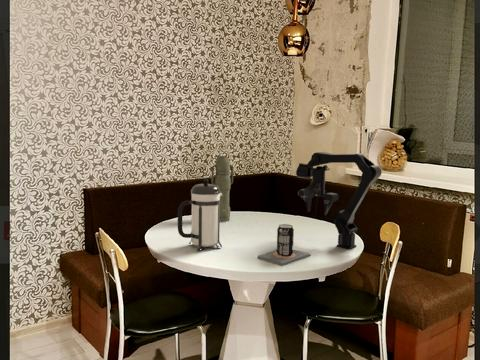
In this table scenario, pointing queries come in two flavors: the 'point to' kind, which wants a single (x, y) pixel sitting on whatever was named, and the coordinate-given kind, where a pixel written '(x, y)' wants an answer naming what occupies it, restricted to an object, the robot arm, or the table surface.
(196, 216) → the coffee press
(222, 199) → the thermos
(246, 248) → the table surface
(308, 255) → the placemat
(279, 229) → the beverage can
